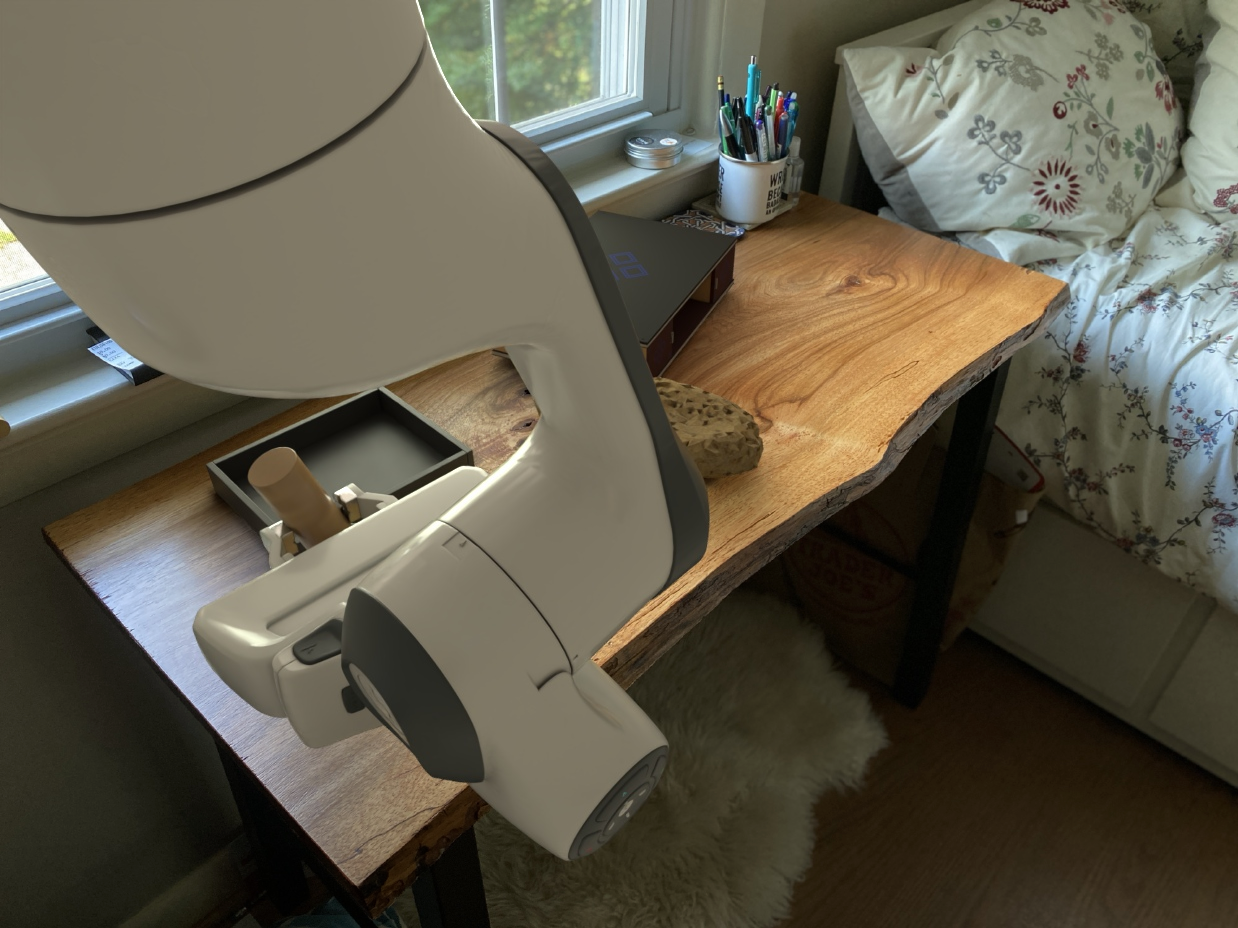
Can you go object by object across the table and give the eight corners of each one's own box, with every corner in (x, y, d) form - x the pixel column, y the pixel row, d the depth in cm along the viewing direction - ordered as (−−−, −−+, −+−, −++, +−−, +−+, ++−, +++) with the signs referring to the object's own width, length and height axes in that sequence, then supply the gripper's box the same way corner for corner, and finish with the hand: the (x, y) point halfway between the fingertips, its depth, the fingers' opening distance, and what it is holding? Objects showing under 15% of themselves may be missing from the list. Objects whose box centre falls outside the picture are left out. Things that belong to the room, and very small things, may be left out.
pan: (298, 576, 72) (289, 547, 70) (214, 491, 80) (205, 464, 78) (476, 477, 81) (472, 449, 79) (385, 410, 89) (380, 384, 87)
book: (733, 290, 108) (738, 236, 104) (646, 402, 90) (647, 342, 86) (599, 261, 114) (598, 209, 109) (492, 361, 96) (486, 304, 92)
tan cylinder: (352, 620, 63) (257, 511, 54) (315, 585, 66) (219, 477, 57) (408, 568, 65) (324, 455, 56) (369, 536, 68) (284, 425, 59)
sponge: (523, 448, 86) (674, 518, 73) (520, 367, 83) (676, 424, 70) (629, 416, 94) (783, 474, 81) (629, 341, 91) (789, 387, 78)
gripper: (565, 502, 57) (432, 410, 65) (254, 694, 46) (139, 555, 54) (569, 575, 61) (443, 480, 69) (284, 768, 50) (172, 628, 57)
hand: (307, 514), depth 61 cm, fingers closed on tan cylinder, 4 cm apart
